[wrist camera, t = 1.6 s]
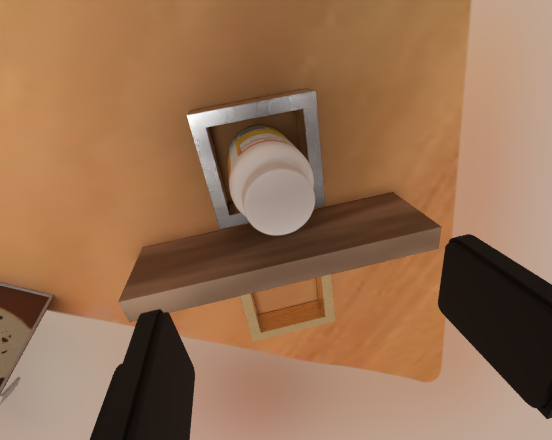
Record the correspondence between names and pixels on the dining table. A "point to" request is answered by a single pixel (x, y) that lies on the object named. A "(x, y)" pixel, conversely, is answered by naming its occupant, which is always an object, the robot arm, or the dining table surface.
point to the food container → (17, 327)
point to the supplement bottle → (270, 180)
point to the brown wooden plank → (275, 255)
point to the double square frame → (231, 216)
